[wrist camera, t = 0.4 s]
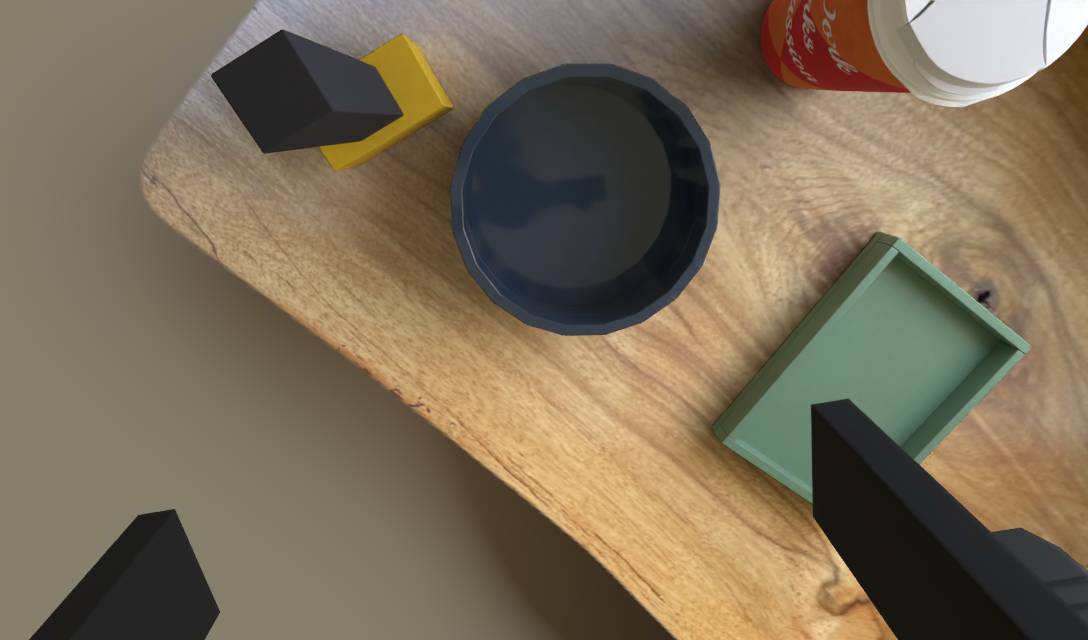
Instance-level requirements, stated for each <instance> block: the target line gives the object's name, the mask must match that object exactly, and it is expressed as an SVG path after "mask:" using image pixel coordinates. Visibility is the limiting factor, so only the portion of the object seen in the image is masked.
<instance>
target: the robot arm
mask: <svg viewBox="0 0 1088 640" xmlns="http://www.w3.org/2000/svg"><path fill="white" fill-rule="evenodd" d="M811 443H812V502H813V517H814V519H815V520H816V522H817V523H818V525H819V526H820V528H821V529H822V530H823V532H824V533H825V535H826V536H827V538H828V539H829V541H830V542H831V543H832V545H833V546H834V548H835V549H836V551H837V552H838V554H839V555H840V556H841V558H842V559H843V561H844V562H845V564H846V565H847V567H848V568H849V570H850V571H851V572H852V574H853V575H854V577H855V578H856V580H857V581H858V583H859V584H860V585H861V587H862V588H863V590H864V591H865V593H866V594H867V596H868V597H869V598H870V600H871V601H872V603H873V604H874V606H875V607H876V609H877V610H878V611H879V613H880V614H881V616H882V617H883V619H884V620H885V622H886V623H887V625H888V626H889V627H890V629H891V630H892V632H893V633H894V635H895V636H896V638H897V639H898V640H1088V571H1087V570H1086V569H1085V568H1084V567H1082V566H1081V565H1080V564H1079V563H1078V562H1076V561H1075V560H1074V559H1073V558H1072V557H1071V556H1069V555H1068V554H1067V553H1066V552H1065V551H1063V550H1062V549H1061V548H1060V547H1058V546H1056V545H1054V544H1052V543H1050V542H1048V541H1046V540H1044V539H1042V538H1040V537H1038V536H1036V535H1034V534H1032V533H1030V532H1028V531H1026V530H1024V529H1022V528H1016V529H1009V530H1003V531H997V532H990V531H989V530H988V529H987V528H986V527H985V526H984V525H983V524H982V523H981V522H980V521H979V520H978V519H976V518H975V517H974V516H973V515H972V514H971V513H970V512H969V511H968V510H967V509H966V508H965V507H964V506H963V505H962V504H961V503H959V502H958V501H957V500H956V499H955V498H954V497H953V496H952V495H951V494H950V493H949V492H948V491H947V490H946V489H945V488H943V487H942V486H941V485H940V484H939V483H938V482H937V481H936V480H935V479H934V478H933V477H932V476H931V475H930V474H929V473H927V472H926V471H925V470H924V469H923V468H922V467H921V466H920V465H919V464H918V463H917V462H916V461H915V460H914V459H913V458H912V457H910V456H909V455H908V454H907V453H906V452H905V451H904V450H903V449H902V448H901V447H900V446H899V445H898V444H897V443H896V442H894V441H893V440H892V439H891V438H890V437H889V436H888V435H887V434H886V433H885V432H884V431H883V430H882V429H881V428H880V427H878V426H877V425H876V424H875V423H874V422H873V421H872V420H871V419H870V418H869V417H868V416H867V415H866V414H865V413H864V412H863V411H861V410H860V409H859V408H858V407H857V406H856V405H855V404H854V403H853V402H852V401H851V400H850V399H849V398H848V399H842V400H836V401H830V402H824V403H818V404H812V405H811ZM219 613H220V611H219V609H218V606H217V604H216V602H215V600H214V597H213V595H212V593H211V591H210V588H209V586H208V584H207V581H206V579H205V577H204V575H203V572H202V570H201V568H200V566H199V563H198V561H197V558H196V557H195V554H194V552H193V549H192V547H191V545H190V543H189V540H188V538H187V536H186V534H185V531H184V529H183V527H182V524H181V523H180V520H179V518H178V515H177V513H176V511H175V509H172V510H166V511H161V512H154V513H148V514H143V515H138V516H137V517H136V518H135V520H134V521H133V522H132V523H131V524H130V525H129V526H128V527H127V529H126V530H125V531H124V532H123V533H122V534H121V536H120V537H119V538H118V539H117V540H116V541H115V542H114V543H113V545H112V546H111V547H110V548H109V549H108V550H107V551H106V553H105V554H104V555H103V556H102V557H101V558H100V559H99V561H98V562H97V563H96V564H95V565H94V566H93V568H92V569H91V570H90V571H89V572H88V573H87V574H86V575H85V577H84V578H83V579H82V580H81V581H80V582H79V583H78V585H77V586H76V587H75V588H74V589H73V590H72V591H71V593H70V594H69V595H68V596H67V597H66V598H65V599H64V601H63V602H62V603H61V604H60V605H59V606H58V607H57V609H56V610H55V611H54V612H53V613H52V614H51V616H50V617H49V618H48V619H47V620H46V621H45V622H44V623H43V625H42V626H41V627H40V628H39V629H38V630H37V631H36V633H35V634H34V635H33V636H32V637H31V638H30V639H29V640H205V638H206V636H207V635H208V633H209V631H210V629H211V627H212V626H213V624H214V622H215V620H216V618H217V617H218V615H219Z"/></svg>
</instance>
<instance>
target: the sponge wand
mask: <svg viewBox="0 0 1088 640" xmlns="http://www.w3.org/2000/svg"><path fill="white" fill-rule="evenodd" d="M211 77H212V79H213V80H214V82H215V83H216V84H217V86H218V87H219V89H220V90H221V92H222V93H223V95H224V96H225V98H226V99H227V101H228V102H229V104H230V105H231V106H232V108H233V109H234V111H235V112H236V114H237V115H238V117H239V118H240V120H241V121H242V123H243V124H244V126H245V127H246V128H247V130H248V131H249V133H250V134H251V136H252V137H253V139H254V140H255V142H256V143H257V145H258V146H259V148H260V149H261V151H262V152H263V153H264V154H265V153H273V152H281V151H288V150H296V149H304V148H312V147H319V148H320V150H321V151H322V153H323V154H324V156H325V158H326V159H327V161H328V162H329V164H330V165H331V167H332V168H333V170H334V171H335V172H336V171H340V170H343V169H347V168H350V167H354V166H358V165H361V164H362V163H364V162H366V161H367V160H369V159H370V158H372V157H374V156H375V155H377V154H379V153H380V152H382V151H384V150H385V149H387V148H389V147H390V146H392V145H394V144H395V143H397V142H399V141H400V140H402V139H404V138H405V137H407V136H409V135H410V134H412V133H414V132H415V131H417V130H419V129H420V128H422V127H424V126H425V125H427V124H429V123H430V122H432V121H434V120H435V119H437V118H439V117H440V116H442V115H444V114H445V113H447V112H449V111H450V110H452V109H453V108H454V107H453V105H452V103H451V102H450V100H449V98H448V96H447V95H446V93H445V91H444V90H443V88H442V86H441V84H440V83H439V81H438V79H437V77H436V76H435V74H434V72H433V70H432V69H431V67H430V65H429V63H428V62H427V60H426V58H425V57H424V55H423V53H422V51H421V50H420V48H419V46H417V45H416V44H415V43H414V42H412V41H411V40H410V39H409V38H407V37H406V36H405V35H404V34H400V35H399V36H397V37H395V38H394V39H392V40H391V41H389V42H387V43H386V44H384V45H383V46H381V47H379V48H378V49H376V50H375V51H373V52H371V53H370V54H368V55H367V56H365V57H363V58H362V59H360V60H357V59H355V58H353V57H350V56H348V55H345V54H343V53H340V52H338V51H335V50H333V49H330V48H328V47H325V46H323V45H320V44H318V43H315V42H313V41H310V40H308V39H305V38H303V37H300V36H298V35H295V34H293V33H290V32H288V31H285V30H280V31H279V32H277V33H275V34H274V35H272V36H271V37H269V38H268V39H266V40H265V41H263V42H261V43H260V44H258V45H257V46H255V47H254V48H252V49H250V50H249V51H247V52H246V53H244V54H243V55H241V56H239V57H238V58H236V59H235V60H233V61H232V62H230V63H228V64H227V65H225V66H224V67H222V68H221V69H219V70H218V71H216V72H214V73H213V74H212V75H211Z"/></svg>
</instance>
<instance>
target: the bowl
mask: <svg viewBox="0 0 1088 640" xmlns="http://www.w3.org/2000/svg"><path fill="white" fill-rule="evenodd" d="M450 187H451V188H450V199H451V219H452V230H453V235H454V237H455V240H456V243H457V245H458V248H459V251H460V253H461V256H462V259H463V261H464V264H465V266H466V269H467V270H468V272H469V274H470V275H471V276H472V277H473V279H474V280H475V281H476V282H477V284H478V285H479V286H480V287H481V289H482V290H483V291H484V292H485V294H486V295H487V296H488V297H489V299H490V300H491V301H492V302H493V303H494V304H496V305H497V306H499V307H500V308H502V309H503V310H505V311H506V312H508V313H509V314H511V315H512V316H514V317H515V318H517V319H518V320H520V321H521V322H523V323H524V324H527V325H529V326H532V327H536V328H539V329H543V330H546V331H550V332H553V333H557V334H560V335H565V336H576V335H606V334H609V333H612V332H615V331H618V330H621V329H624V328H627V327H630V326H633V325H637V324H640V323H642V322H644V321H645V320H647V319H648V318H650V317H651V316H652V315H654V314H655V313H657V312H658V311H660V310H661V309H662V308H664V307H665V306H667V305H668V304H670V303H671V302H672V301H674V300H675V299H676V298H677V297H678V296H679V295H680V294H681V292H682V291H683V290H684V288H685V287H686V286H687V285H688V283H689V282H690V281H691V280H692V278H693V277H694V276H695V275H696V273H697V272H698V271H699V270H700V268H701V266H702V265H703V262H704V260H705V257H706V255H707V252H708V250H709V247H710V245H711V242H712V240H713V237H714V234H715V232H716V229H717V224H718V211H719V197H720V181H719V177H718V173H717V168H716V164H715V160H714V156H713V152H712V148H711V144H710V142H709V140H708V139H707V137H706V135H705V134H704V132H703V131H702V129H701V127H700V126H699V124H698V123H697V121H696V119H695V118H694V116H693V115H692V113H691V111H690V110H689V108H688V107H687V106H686V105H685V104H684V103H683V102H682V101H680V100H679V99H678V98H677V97H675V96H674V95H673V94H672V93H670V92H669V91H668V90H667V89H665V88H664V87H663V86H662V85H660V84H659V83H658V82H657V81H655V80H654V79H652V78H650V77H647V76H645V75H642V74H639V73H636V72H633V71H630V70H628V69H625V68H622V67H619V66H616V65H613V64H566V65H565V64H563V65H560V66H557V67H554V68H552V69H549V70H546V71H543V72H540V73H537V74H535V75H532V76H529V77H526V78H524V79H523V80H520V81H519V82H518V83H516V84H515V85H514V86H513V87H511V88H510V89H509V90H508V91H506V92H505V93H504V94H502V95H501V96H500V97H499V98H497V99H496V100H495V101H494V102H492V103H491V104H490V105H488V107H487V108H486V109H485V110H484V112H483V113H482V115H481V116H480V118H479V119H478V121H477V122H476V124H475V125H474V127H473V128H472V130H471V131H470V133H469V134H468V136H467V137H466V139H465V140H464V142H463V143H462V146H461V149H460V153H459V156H458V160H457V164H456V167H455V171H454V175H453V178H452V182H451V186H450Z"/></svg>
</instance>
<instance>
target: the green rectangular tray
mask: <svg viewBox="0 0 1088 640" xmlns="http://www.w3.org/2000/svg"><path fill="white" fill-rule="evenodd" d="M1031 348H1032V346H1031V345H1029V344H1028V343H1027V342H1026V341H1025V340H1023V339H1022V338H1021V337H1020V336H1018V335H1017V334H1016V333H1015V332H1014V331H1012V330H1011V329H1010V328H1009V327H1008V326H1006V325H1005V324H1004V323H1003V322H1001V321H1000V320H999V319H998V318H997V317H995V316H994V315H993V314H992V313H991V312H989V311H988V310H987V309H986V308H984V307H983V306H982V305H981V304H980V303H978V302H977V301H976V300H975V299H974V298H972V297H971V296H970V295H969V294H967V293H966V292H965V291H964V290H963V289H961V288H960V287H959V286H958V285H957V284H955V283H954V282H953V281H952V280H950V279H949V278H948V277H947V276H946V275H944V274H943V273H942V272H941V271H940V270H938V269H937V268H936V267H935V266H933V265H932V264H931V263H930V262H929V261H927V260H926V259H925V258H924V257H923V256H921V255H920V254H919V253H918V252H916V251H915V250H914V249H913V248H912V247H910V246H909V245H908V244H907V243H906V242H904V241H903V240H902V239H901V238H899V237H895V236H892V235H889V234H885V233H883V232H878V233H877V234H876V235H875V237H874V238H873V239H872V240H871V241H870V242H869V244H868V245H867V246H866V247H865V248H864V249H863V251H862V252H861V253H860V254H859V255H858V256H857V258H856V259H855V260H854V261H853V262H852V264H851V265H850V266H849V267H848V268H847V269H846V271H845V272H844V273H843V274H842V275H841V276H840V278H839V279H838V280H837V281H836V282H835V283H834V285H833V286H832V287H831V288H830V289H829V290H828V292H827V293H826V294H825V295H824V296H823V297H822V299H821V300H820V301H819V302H818V303H817V304H816V306H815V307H814V308H813V309H812V310H811V312H810V313H809V314H808V315H807V316H806V317H805V319H804V320H803V321H802V322H801V323H800V324H799V326H798V327H797V328H796V329H795V330H794V331H793V333H792V334H791V335H790V336H789V337H788V338H787V340H786V341H785V342H784V343H783V344H782V345H781V347H780V348H779V349H778V350H777V351H776V352H775V354H774V355H773V356H772V357H771V358H770V360H769V361H768V362H767V363H766V364H765V365H764V367H763V368H762V369H761V370H760V371H759V372H758V374H757V375H756V376H755V377H754V378H753V379H752V381H751V382H750V383H749V384H748V385H747V386H746V388H745V389H744V390H743V391H742V392H741V393H740V395H739V396H738V397H737V398H736V399H735V400H734V402H733V403H732V404H731V405H730V406H729V408H728V409H727V410H726V411H725V412H724V413H723V415H722V416H721V417H720V418H719V419H718V420H717V422H716V423H715V424H714V425H713V426H712V429H713V431H714V432H715V434H716V435H717V437H718V438H719V440H720V441H721V443H722V444H723V445H725V446H726V447H728V448H729V449H731V450H732V451H734V452H735V453H737V454H738V455H740V456H741V457H743V458H744V459H746V460H747V461H749V462H750V463H752V464H753V465H755V466H756V467H758V468H759V469H761V470H762V471H764V472H765V473H767V474H768V475H770V476H771V477H773V478H774V479H776V480H777V481H779V482H780V483H782V484H783V485H784V486H786V487H787V488H789V489H790V490H792V491H793V492H795V493H796V494H798V495H799V496H801V497H802V498H804V499H805V500H807V501H808V502H810V503H811V504H813V502H812V443H811V405H812V404H818V403H824V402H830V401H836V400H842V399H848V398H849V399H850V400H851V401H852V402H853V403H854V404H855V405H856V406H857V407H858V408H859V409H860V410H861V411H863V412H864V413H865V414H866V415H867V416H868V417H869V418H870V419H871V420H872V421H873V422H874V423H875V424H876V425H877V426H878V427H880V428H881V429H882V430H883V431H884V432H885V433H886V434H887V435H888V436H889V437H890V438H891V439H892V440H893V441H894V442H896V443H897V444H898V445H899V446H900V447H901V448H902V449H903V450H904V451H905V452H906V453H907V454H908V455H909V456H910V457H912V458H913V459H914V460H915V461H916V462H917V463H918V464H920V463H921V462H922V461H923V460H924V459H925V458H926V457H927V456H928V455H929V454H930V453H931V452H932V451H933V450H934V449H935V448H936V447H937V446H938V444H939V443H940V442H941V441H942V440H943V439H944V438H945V437H946V436H947V435H948V434H949V433H950V432H951V431H952V430H953V429H954V428H955V427H956V426H957V425H958V424H959V423H960V422H961V421H962V420H963V419H964V417H965V416H966V415H967V414H968V413H969V412H970V411H971V410H972V409H973V408H974V407H975V406H976V405H977V404H978V403H979V402H980V401H981V400H982V399H983V398H984V397H985V396H986V395H987V394H988V393H989V392H990V390H991V389H992V388H993V387H994V386H995V385H996V384H997V383H998V382H999V381H1000V380H1001V379H1002V378H1003V377H1004V376H1005V375H1006V374H1007V373H1008V372H1009V371H1010V370H1011V369H1012V368H1013V367H1014V366H1015V365H1016V364H1017V362H1018V361H1019V360H1020V359H1021V358H1022V357H1023V356H1024V354H1026V353H1027V352H1028V351H1029V350H1030V349H1031Z"/></svg>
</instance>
